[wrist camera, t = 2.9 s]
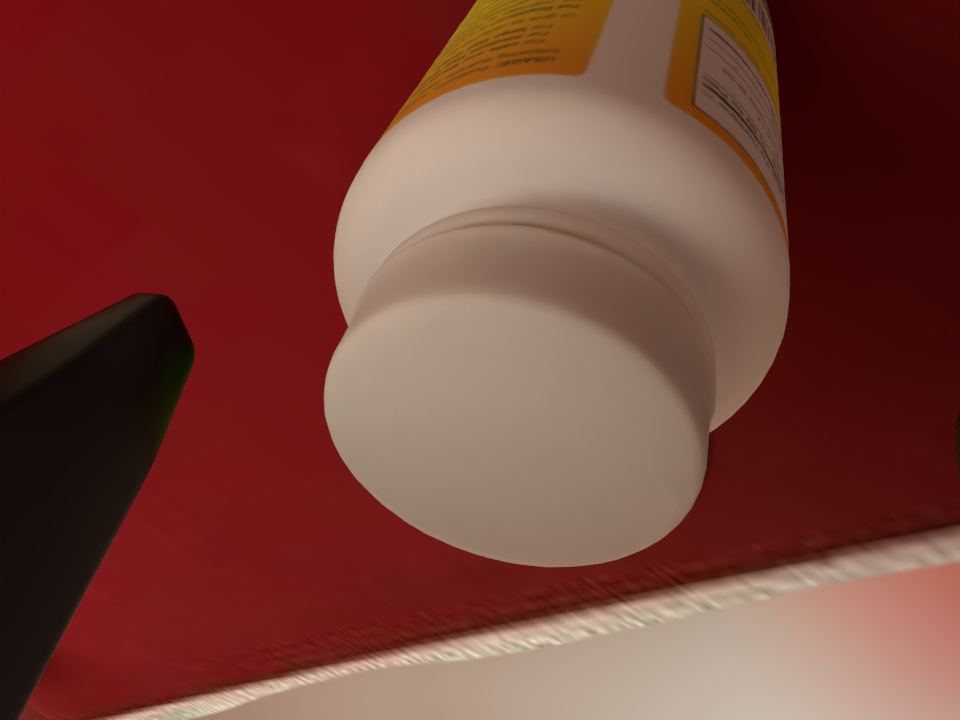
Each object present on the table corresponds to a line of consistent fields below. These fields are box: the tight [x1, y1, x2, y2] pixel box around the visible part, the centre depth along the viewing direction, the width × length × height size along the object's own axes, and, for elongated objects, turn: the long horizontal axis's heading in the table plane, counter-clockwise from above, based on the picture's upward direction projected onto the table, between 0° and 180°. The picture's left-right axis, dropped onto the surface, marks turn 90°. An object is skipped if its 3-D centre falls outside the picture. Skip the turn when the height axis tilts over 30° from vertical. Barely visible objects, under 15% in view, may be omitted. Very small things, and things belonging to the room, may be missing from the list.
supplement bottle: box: [324, 0, 790, 567], centre depth 12 cm, size 6×6×10 cm
